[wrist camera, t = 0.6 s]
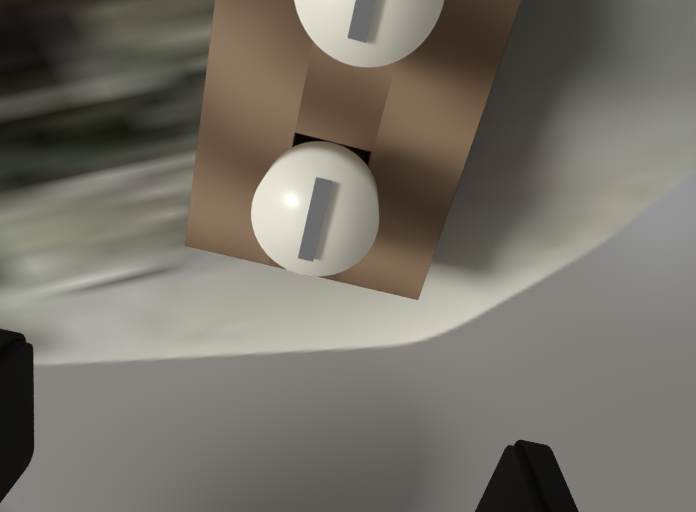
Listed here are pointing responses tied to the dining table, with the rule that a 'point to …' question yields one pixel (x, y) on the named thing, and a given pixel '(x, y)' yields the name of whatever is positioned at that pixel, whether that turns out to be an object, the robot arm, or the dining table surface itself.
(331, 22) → the knob middle
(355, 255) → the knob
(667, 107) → the dining table surface
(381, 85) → the knob mount
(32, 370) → the robot arm
